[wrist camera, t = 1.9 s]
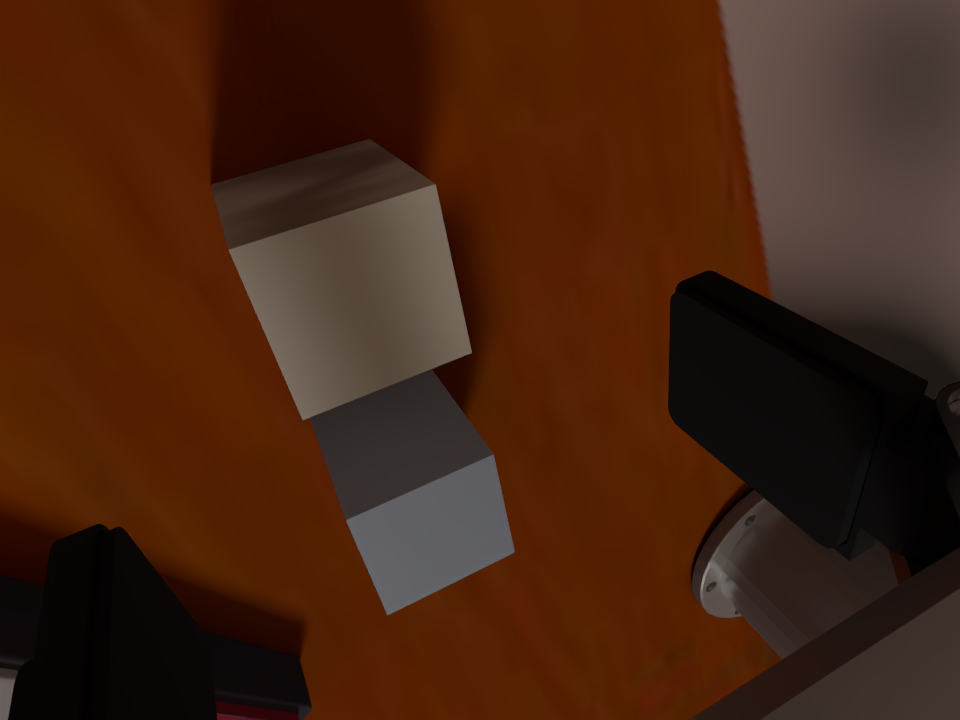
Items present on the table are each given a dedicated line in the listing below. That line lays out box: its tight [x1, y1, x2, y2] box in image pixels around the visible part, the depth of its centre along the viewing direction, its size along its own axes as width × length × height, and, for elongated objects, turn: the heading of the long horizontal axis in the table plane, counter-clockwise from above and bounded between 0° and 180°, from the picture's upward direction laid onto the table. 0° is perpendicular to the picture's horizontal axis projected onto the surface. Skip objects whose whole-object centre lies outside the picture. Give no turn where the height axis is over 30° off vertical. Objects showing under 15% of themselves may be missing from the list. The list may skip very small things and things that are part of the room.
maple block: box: [211, 139, 472, 420], centre depth 18 cm, size 5×5×6 cm
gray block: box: [310, 369, 515, 615], centre depth 23 cm, size 5×5×6 cm
